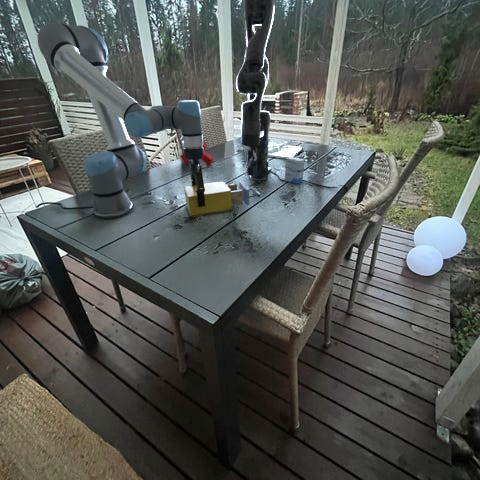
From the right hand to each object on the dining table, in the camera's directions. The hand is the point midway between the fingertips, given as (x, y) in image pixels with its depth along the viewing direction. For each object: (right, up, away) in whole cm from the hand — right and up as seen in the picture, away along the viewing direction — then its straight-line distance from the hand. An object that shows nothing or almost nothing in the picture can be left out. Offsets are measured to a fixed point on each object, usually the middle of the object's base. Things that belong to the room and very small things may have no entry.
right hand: (250, 174), depth 115 cm
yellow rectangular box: (-18, -14, +2) cm, 23 cm away
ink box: (+24, +4, +29) cm, 38 cm away
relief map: (+20, +36, +79) cm, 89 cm away
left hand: (-22, -11, -1) cm, 24 cm away
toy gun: (-31, +20, +55) cm, 66 cm away
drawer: (-7, -11, +4) cm, 14 cm away
